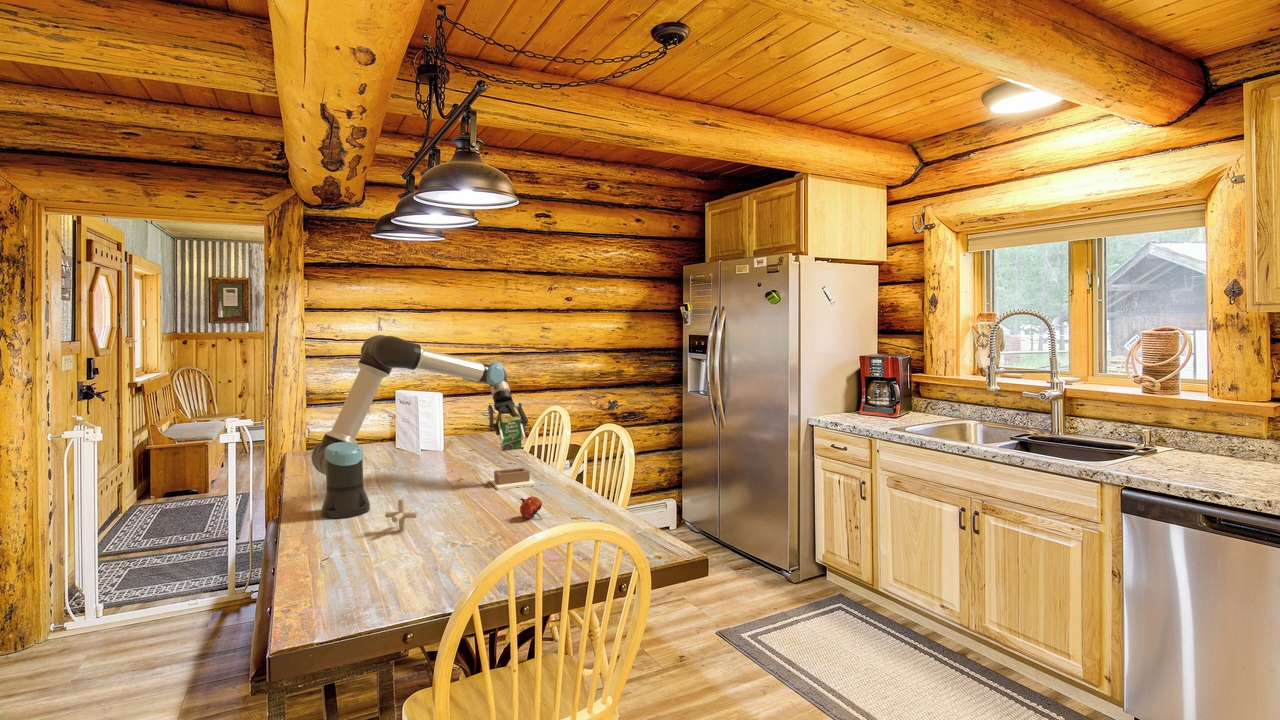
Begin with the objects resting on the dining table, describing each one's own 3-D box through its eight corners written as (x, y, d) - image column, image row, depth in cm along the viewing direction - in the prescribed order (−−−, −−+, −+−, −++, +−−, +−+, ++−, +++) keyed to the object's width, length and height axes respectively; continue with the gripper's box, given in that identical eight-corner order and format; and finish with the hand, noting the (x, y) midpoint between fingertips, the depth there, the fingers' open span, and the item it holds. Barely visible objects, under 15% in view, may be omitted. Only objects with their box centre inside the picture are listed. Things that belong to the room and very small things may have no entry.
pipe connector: (424, 525, 208) (423, 495, 208) (410, 536, 198) (409, 504, 198) (394, 525, 209) (393, 494, 209) (379, 535, 199) (378, 503, 199)
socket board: (535, 485, 257) (535, 472, 256) (498, 490, 250) (497, 477, 250) (524, 477, 270) (524, 465, 270) (488, 481, 263) (488, 469, 263)
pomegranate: (544, 521, 218) (525, 501, 221) (553, 507, 215) (533, 486, 218) (530, 530, 212) (510, 509, 215) (539, 515, 209) (518, 494, 212)
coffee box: (502, 451, 256) (501, 418, 255) (500, 450, 259) (499, 417, 258) (521, 449, 260) (521, 416, 259) (519, 448, 262) (519, 415, 261)
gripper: (524, 398, 276) (536, 442, 263) (475, 402, 267) (485, 447, 254) (527, 387, 271) (540, 431, 258) (477, 390, 262) (488, 436, 249)
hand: (513, 439), depth 256 cm, fingers closed on coffee box, 8 cm apart
